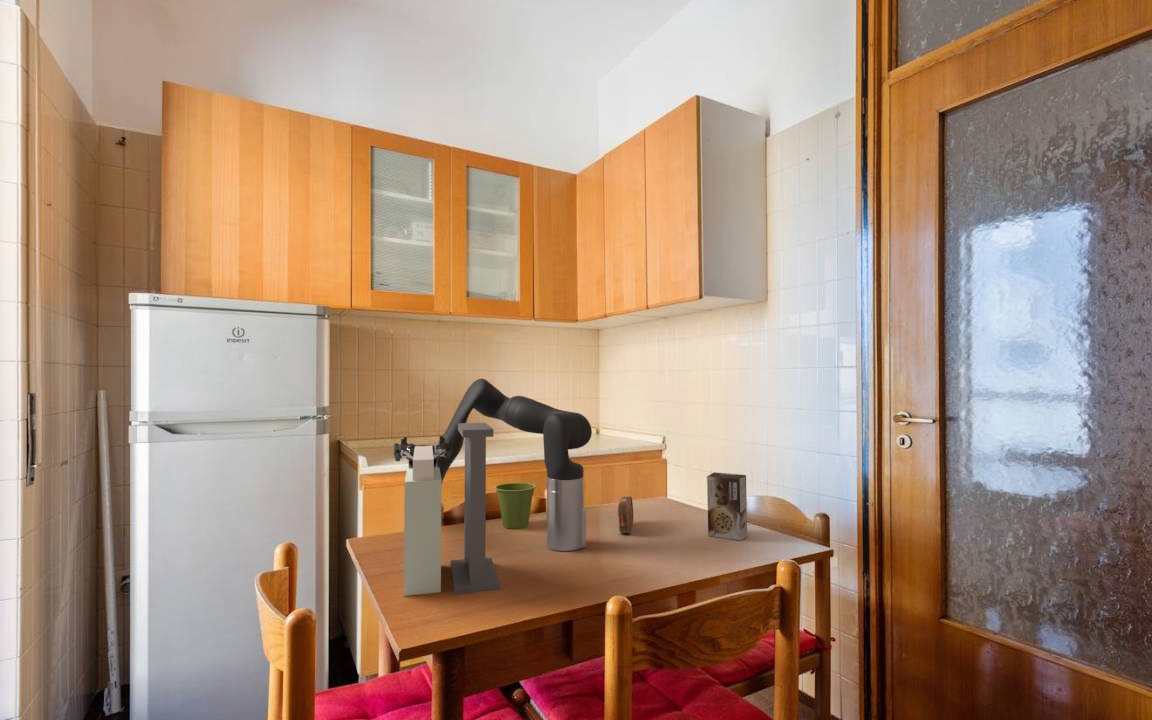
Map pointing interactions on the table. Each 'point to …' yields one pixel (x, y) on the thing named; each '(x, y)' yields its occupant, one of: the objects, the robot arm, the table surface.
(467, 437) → the tall stand
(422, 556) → the pedestal
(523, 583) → the table surface
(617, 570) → the table surface
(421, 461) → the stone bar
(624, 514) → the tin
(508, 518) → the plant pot
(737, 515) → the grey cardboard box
